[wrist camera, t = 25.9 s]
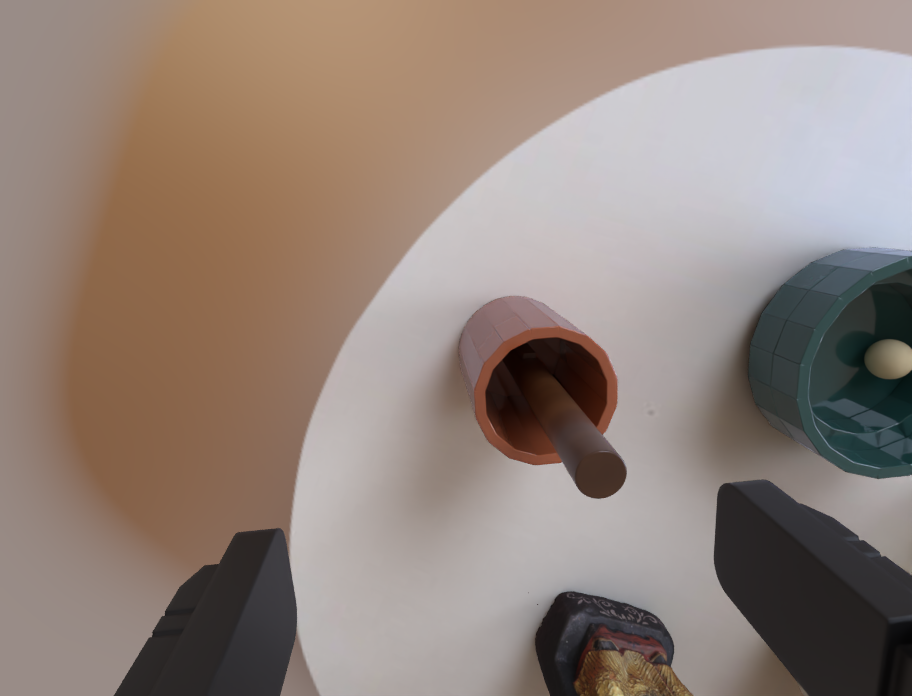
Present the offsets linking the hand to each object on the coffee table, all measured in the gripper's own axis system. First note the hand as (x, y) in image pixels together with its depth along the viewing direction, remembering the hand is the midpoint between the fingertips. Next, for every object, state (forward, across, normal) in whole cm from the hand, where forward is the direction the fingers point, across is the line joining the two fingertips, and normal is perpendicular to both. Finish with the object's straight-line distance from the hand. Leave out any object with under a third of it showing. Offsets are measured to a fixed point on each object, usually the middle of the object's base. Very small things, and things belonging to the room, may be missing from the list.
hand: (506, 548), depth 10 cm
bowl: (+28, -29, +6) cm, 41 cm away
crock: (+28, -5, +4) cm, 29 cm away
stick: (+28, -5, +4) cm, 28 cm away
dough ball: (+26, -31, +6) cm, 41 cm away
